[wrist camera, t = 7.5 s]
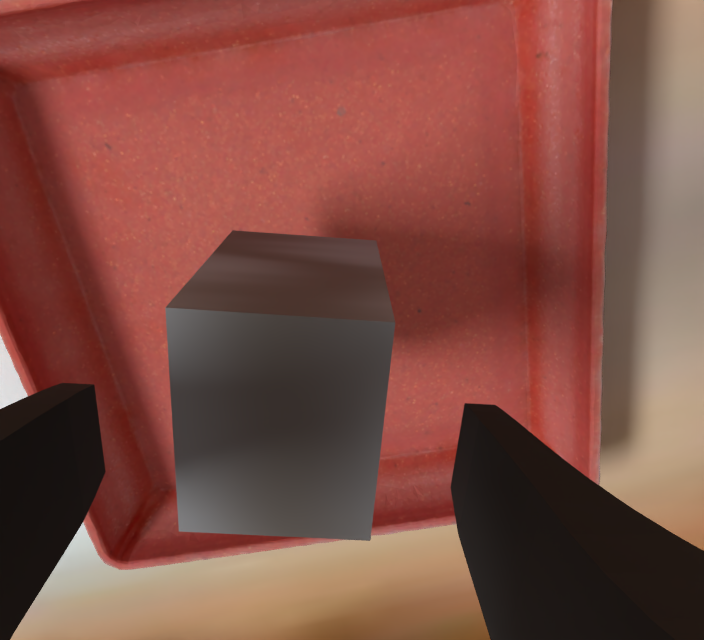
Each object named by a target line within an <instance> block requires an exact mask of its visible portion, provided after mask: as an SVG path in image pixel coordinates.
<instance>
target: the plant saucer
mask: <svg viewBox="0 0 704 640" xmlns="http://www.w3.org/2000/svg"><path fill="white" fill-rule="evenodd" d="M612 6H613V0H0V335H1V337H2V339H3V342H4V344H5V347H6V349H7V351H8V353H9V355H10V357H11V359H12V362H13V365H14V367H15V369H16V371H17V373H18V375H19V377H20V380H21V383H22V385H23V387H24V389H25V391H26V392H27V395H28V396H30V395H32V394H35V393H37V392H39V391H42V390H44V389H46V388H49V387H52V386H54V385H57V384H60V383H76V384H94V385H95V393H96V401H97V409H98V416H99V424H100V432H101V440H102V447H103V455H104V463H105V471H106V472H105V475H104V477H103V479H102V482H101V484H100V486H99V489H98V491H97V493H96V496H95V498H94V500H93V502H92V504H91V507H90V509H89V511H88V513H87V515H86V517H85V519H84V521H83V522H84V525H85V527H86V530H87V532H88V535H89V537H90V539H91V541H92V543H93V545H94V547H95V549H96V551H97V553H98V555H99V556H100V558H101V559H102V561H103V562H104V563H105V564H107V565H109V566H112V567H114V568H117V569H119V570H128V569H138V568H147V567H154V566H161V565H168V564H175V563H182V562H191V561H196V560H206V559H211V558H217V557H225V556H233V555H239V554H247V553H254V552H261V551H268V550H275V549H282V548H290V547H295V546H306V545H311V544H316V543H327V542H333V541H339V540H346V539H326V538H305V537H284V536H263V535H242V534H221V533H200V532H180V531H179V524H178V508H177V492H176V475H175V459H174V442H173V426H172V410H171V393H170V377H169V360H168V344H167V328H166V311H165V307H166V306H167V305H168V304H169V303H170V302H171V300H172V299H173V298H174V297H175V296H176V295H177V294H178V292H179V291H180V290H181V289H182V288H183V287H184V286H185V284H186V283H187V282H188V281H189V280H190V279H191V278H192V276H193V275H194V274H195V273H196V272H197V271H198V269H199V268H200V267H201V266H202V265H203V264H204V263H205V261H206V260H207V259H208V258H209V257H210V256H211V255H212V253H213V252H214V251H215V250H216V249H217V248H218V247H219V245H220V244H221V243H222V242H223V241H224V240H225V239H226V237H227V236H228V235H229V234H230V233H231V232H232V231H233V230H236V231H250V232H264V233H278V234H292V235H306V236H320V237H334V238H348V239H362V240H376V241H377V246H378V250H379V254H380V259H381V263H382V267H383V271H384V276H385V280H386V284H387V289H388V293H389V297H390V301H391V306H392V310H393V314H394V319H395V330H394V339H393V348H392V356H391V365H390V374H389V382H388V391H387V400H386V408H385V417H384V426H383V434H382V443H381V452H380V460H379V469H378V478H377V486H376V495H375V504H374V513H373V521H372V530H371V536H372V535H385V534H392V533H397V532H403V531H411V530H419V529H426V528H432V527H439V526H446V525H453V524H456V518H455V513H454V506H453V500H452V494H451V488H450V487H451V481H452V475H453V469H454V463H455V457H456V451H457V445H458V439H459V433H460V428H461V422H462V416H463V410H464V404H465V403H471V404H491V405H496V406H498V407H499V408H501V409H502V410H503V411H505V412H506V413H507V414H509V415H510V416H511V417H512V418H514V419H515V420H516V421H517V422H518V423H520V424H521V425H522V426H523V427H525V428H526V429H527V430H528V431H529V432H531V433H532V434H533V435H534V436H536V437H537V438H538V439H539V440H540V441H542V442H543V443H544V444H545V445H547V446H548V447H549V448H550V449H552V450H553V451H554V452H555V453H557V454H558V455H559V456H560V457H562V458H563V459H564V460H565V461H567V462H568V463H569V464H571V465H572V466H573V467H574V468H576V469H577V470H578V471H580V472H581V473H582V474H584V475H585V476H586V477H588V478H589V479H591V480H592V481H593V482H595V483H596V484H598V485H599V482H600V446H601V405H602V361H603V349H604V346H603V335H604V327H603V313H604V289H605V244H606V236H607V203H606V202H607V168H608V130H609V117H610V104H609V85H610V55H611V43H612V37H611V20H612Z"/></svg>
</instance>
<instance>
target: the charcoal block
mask: <svg viewBox="0 0 704 640" xmlns="http://www.w3.org/2000/svg"><path fill="white" fill-rule="evenodd" d="M165 311H166V328H167V344H168V360H169V377H170V393H171V410H172V426H173V442H174V459H175V475H176V492H177V508H178V524H179V531H180V532H200V533H221V534H242V535H263V536H284V537H305V538H326V539H347V540H368V541H370V539H371V530H372V521H373V513H374V504H375V495H376V486H377V478H378V469H379V460H380V452H381V443H382V434H383V426H384V417H385V408H386V400H387V391H388V382H389V374H390V365H391V356H392V348H393V339H394V330H395V319H394V314H393V310H392V306H391V301H390V297H389V293H388V289H387V284H386V280H385V276H384V271H383V267H382V263H381V259H380V254H379V250H378V246H377V241H376V240H362V239H348V238H334V237H320V236H306V235H292V234H278V233H264V232H250V231H236V230H233V231H232V232H231V233H230V234H229V235H228V236H227V237H226V239H225V240H224V241H223V242H222V243H221V244H220V245H219V247H218V248H217V249H216V250H215V251H214V252H213V253H212V255H211V256H210V257H209V258H208V259H207V260H206V261H205V263H204V264H203V265H202V266H201V267H200V268H199V269H198V271H197V272H196V273H195V274H194V275H193V276H192V278H191V279H190V280H189V281H188V282H187V283H186V284H185V286H184V287H183V288H182V289H181V290H180V291H179V292H178V294H177V295H176V296H175V297H174V298H173V299H172V300H171V302H170V303H169V304H168V305H167V306H166V307H165Z"/></svg>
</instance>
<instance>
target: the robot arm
mask: <svg viewBox="0 0 704 640" xmlns="http://www.w3.org/2000/svg"><path fill="white" fill-rule="evenodd" d="M105 472H106V471H105V463H104V455H103V447H102V440H101V432H100V424H99V416H98V409H97V401H96V393H95V385H94V384H76V383H60V384H57V385H54V386H52V387H49V388H46V389H44V390H42V391H39V392H37V393H35V394H32V395H30V396H28V397H26V398H24V399H21V400H19V401H17V402H15V403H13V404H11V405H8V406H6V407H4V408H2V409H0V640H10V639H11V637H12V635H13V633H14V632H15V630H16V628H17V627H18V625H19V624H20V622H21V620H22V619H23V617H24V616H25V614H26V612H27V611H28V609H29V608H30V606H31V605H32V603H33V601H34V600H35V598H36V597H37V595H38V593H39V592H40V590H41V589H42V587H43V585H44V584H45V582H46V581H47V579H48V577H49V576H50V574H51V573H52V571H53V570H54V568H55V566H56V565H57V563H58V562H59V560H60V558H61V557H62V555H63V554H64V552H65V550H66V549H67V547H68V545H69V544H70V542H71V541H72V539H73V537H74V536H75V534H76V533H77V531H78V529H79V528H80V526H81V524H82V523H83V521H84V519H85V517H86V515H87V513H88V511H89V509H90V507H91V504H92V502H93V500H94V498H95V496H96V493H97V491H98V489H99V486H100V484H101V482H102V479H103V477H104V475H105ZM450 488H451V494H452V500H453V506H454V513H455V518H456V524H457V529H458V534H459V538H460V541H461V545H462V548H463V551H464V554H465V558H466V561H467V564H468V568H469V571H470V574H471V577H472V581H473V584H474V587H475V590H476V593H477V597H478V600H479V603H480V606H481V609H482V613H483V616H484V619H485V622H486V626H487V629H488V632H489V635H490V638H491V640H704V551H703V550H701V549H699V548H697V547H696V546H694V545H692V544H690V543H689V542H687V541H685V540H683V539H681V538H680V537H678V536H676V535H675V534H673V533H671V532H670V531H668V530H666V529H665V528H663V527H661V526H660V525H658V524H657V523H655V522H653V521H652V520H650V519H648V518H647V517H645V516H644V515H642V514H640V513H639V512H637V511H635V510H634V509H632V508H631V507H629V506H628V505H626V504H625V503H623V502H622V501H620V500H619V499H617V498H616V497H614V496H613V495H612V494H610V493H609V492H607V491H606V490H605V489H603V488H602V487H600V486H599V485H598V484H596V483H595V482H593V481H592V480H591V479H589V478H588V477H586V476H585V475H584V474H582V473H581V472H580V471H578V470H577V469H576V468H574V467H573V466H572V465H571V464H569V463H568V462H567V461H565V460H564V459H563V458H562V457H560V456H559V455H558V454H557V453H555V452H554V451H553V450H552V449H550V448H549V447H548V446H547V445H545V444H544V443H543V442H542V441H540V440H539V439H538V438H537V437H536V436H534V435H533V434H532V433H531V432H529V431H528V430H527V429H526V428H525V427H523V426H522V425H521V424H520V423H518V422H517V421H516V420H515V419H514V418H512V417H511V416H510V415H509V414H507V413H506V412H505V411H503V410H502V409H501V408H499V407H498V406H496V405H491V404H471V403H465V404H464V410H463V416H462V422H461V428H460V433H459V439H458V445H457V451H456V457H455V463H454V469H453V475H452V481H451V487H450Z"/></svg>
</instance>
